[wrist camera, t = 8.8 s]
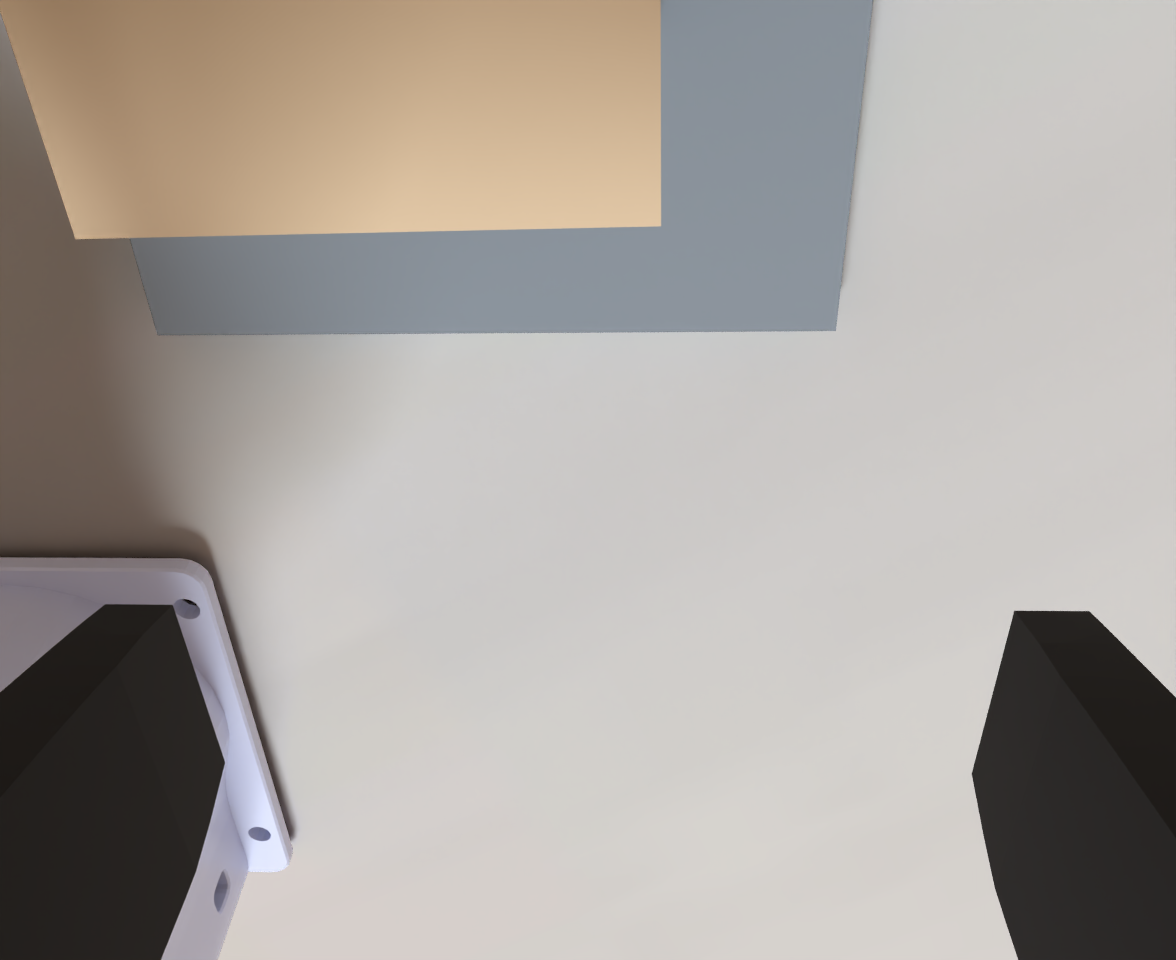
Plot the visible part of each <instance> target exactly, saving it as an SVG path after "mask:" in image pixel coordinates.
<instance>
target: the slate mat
mask: <svg viewBox="0 0 1176 960" xmlns="http://www.w3.org/2000/svg"><path fill="white" fill-rule="evenodd" d="M872 4H873V0H661V226H653V227H608V228H562V229H516V230H470V231H425V232H379V233H333V234H288V235H242V236H196V237H151V238H130V241H131V245H132V248H133V252H134V255H135V259H136V262H137V266H138V269H139V273H140V276H141V280H142V283H143V286H144V290H145V293H146V297H147V300H148V304H149V307H150V311H151V314H152V318H153V321H154V325H155V328H156V331H157V335H277V334H434V333H590V332H746V331H836V324H837V315H838V306H839V297H840V288H841V280H842V271H843V262H844V253H845V244H846V235H847V226H848V217H849V209H850V200H851V191H852V182H853V173H854V164H855V155H856V146H857V138H858V129H859V120H860V111H861V102H862V93H863V84H864V75H865V67H866V58H867V49H868V40H869V31H870V22H871V13H872Z"/></svg>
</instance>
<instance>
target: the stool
mask: <svg viewBox="0 0 1176 960" xmlns="http://www.w3.org/2000/svg"><path fill="white" fill-rule="evenodd" d="M0 12H1V15H2V18H3V21H4V24H5V27H6V31H7V34H8V37H9V40H10V43H11V46H12V49H13V52H14V55H15V58H16V61H17V64H18V67H19V70H20V73H21V76H22V79H23V82H24V85H25V88H26V91H27V94H28V97H29V100H30V103H31V106H32V109H33V112H34V115H35V118H36V121H37V124H38V127H39V130H40V133H41V137H42V140H43V143H44V146H45V149H46V152H47V155H48V158H49V161H50V164H51V167H52V170H53V173H54V176H55V179H56V182H57V185H58V188H59V191H60V194H61V197H62V200H63V203H64V206H65V209H66V212H67V215H68V218H69V221H70V224H71V227H72V230H73V233H74V236H75V239H105V238H151V237H196V236H242V235H288V234H333V233H379V232H425V231H470V230H516V229H562V228H608V227H653V226H661V0H0Z"/></svg>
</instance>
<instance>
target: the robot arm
mask: <svg viewBox="0 0 1176 960" xmlns="http://www.w3.org/2000/svg"><path fill="white" fill-rule="evenodd" d="M183 599H187V600H191V601H193V602H194V603H196V604H197V605H198V606H195V605H190V604H188V603H187V602H185V601H184V600H183ZM972 777H973V782H974V787H975V793H976V798H977V803H978V808H979V814H980V819H981V824H982V829H983V834H984V839H985V844H986V848H987V853H988V858H989V862H990V867H991V872H992V876H993V881H994V885H995V889H996V892H997V896H998V899H999V902H1000V905H1001V908H1002V911H1003V914H1004V918H1005V921H1006V924H1007V927H1008V930H1009V933H1010V936H1011V939H1012V942H1013V945H1014V948H1015V951H1016V954H1017V957H1018V960H1176V697H1175V696H1174V695H1173V694H1172V693H1171V692H1170V691H1169V690H1168V689H1167V688H1166V687H1165V686H1164V685H1163V684H1162V683H1161V682H1160V681H1159V680H1158V679H1157V678H1156V677H1155V676H1154V675H1153V674H1152V673H1151V672H1150V671H1149V670H1148V669H1147V668H1146V667H1145V666H1144V665H1143V664H1142V663H1141V662H1140V661H1139V660H1138V659H1137V658H1136V657H1135V656H1134V655H1133V654H1132V653H1131V652H1130V651H1129V650H1128V649H1127V648H1126V647H1125V646H1124V645H1123V644H1122V643H1121V642H1120V641H1119V640H1118V639H1117V638H1116V637H1115V636H1114V635H1113V634H1112V633H1111V632H1110V631H1109V630H1108V629H1107V628H1106V627H1105V626H1104V625H1103V624H1102V623H1101V622H1100V621H1099V620H1098V619H1097V618H1096V617H1095V616H1094V615H1092V614H1091V613H1090V612H1089V611H1014V615H1013V619H1012V622H1011V626H1010V630H1009V634H1008V638H1007V641H1006V645H1005V649H1004V653H1003V657H1002V661H1001V664H1000V668H999V672H998V676H997V680H996V684H995V687H994V691H993V695H992V699H991V703H990V706H989V710H988V714H987V718H986V722H985V726H984V729H983V733H982V737H981V741H980V745H979V749H978V752H977V756H976V760H975V764H974V768H973V772H972ZM292 854H293V848H292V845H291V841H290V838H289V835H288V831H287V828H286V824H285V821H284V818H283V814H282V811H281V808H280V804H279V801H278V798H277V794H276V791H275V788H274V784H273V781H272V778H271V774H270V771H269V768H268V764H267V761H266V758H265V754H264V751H263V748H262V744H261V741H260V738H259V734H258V731H257V728H256V724H255V721H254V718H253V714H252V711H251V708H250V704H249V701H248V698H247V694H246V691H245V688H244V684H243V681H242V678H241V674H240V671H239V668H238V664H237V661H236V658H235V654H234V651H233V648H232V644H231V641H230V638H229V634H228V631H227V628H226V624H225V621H224V618H223V614H222V611H221V608H220V604H219V601H218V598H217V594H216V591H215V588H214V584H213V581H212V578H211V576H210V574H209V572H208V571H207V570H206V569H205V568H204V567H203V566H202V565H200V564H199V563H196V562H194V561H192V560H188V559H182V558H14V557H0V960H218V957H219V954H220V952H221V949H222V946H223V943H224V940H225V937H226V934H227V931H228V928H229V925H230V923H231V920H232V917H233V914H234V911H235V908H236V905H237V902H238V899H239V897H240V894H241V891H242V888H243V885H244V882H245V879H246V876H247V873H248V872H277V871H281V870H283V869H285V868H287V866H288V865H289V863H290V860H291V857H292Z"/></svg>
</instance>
